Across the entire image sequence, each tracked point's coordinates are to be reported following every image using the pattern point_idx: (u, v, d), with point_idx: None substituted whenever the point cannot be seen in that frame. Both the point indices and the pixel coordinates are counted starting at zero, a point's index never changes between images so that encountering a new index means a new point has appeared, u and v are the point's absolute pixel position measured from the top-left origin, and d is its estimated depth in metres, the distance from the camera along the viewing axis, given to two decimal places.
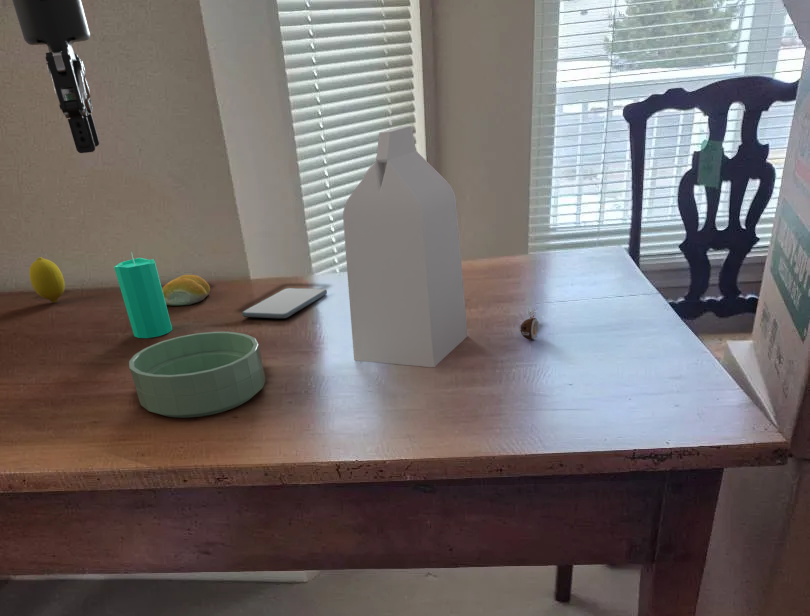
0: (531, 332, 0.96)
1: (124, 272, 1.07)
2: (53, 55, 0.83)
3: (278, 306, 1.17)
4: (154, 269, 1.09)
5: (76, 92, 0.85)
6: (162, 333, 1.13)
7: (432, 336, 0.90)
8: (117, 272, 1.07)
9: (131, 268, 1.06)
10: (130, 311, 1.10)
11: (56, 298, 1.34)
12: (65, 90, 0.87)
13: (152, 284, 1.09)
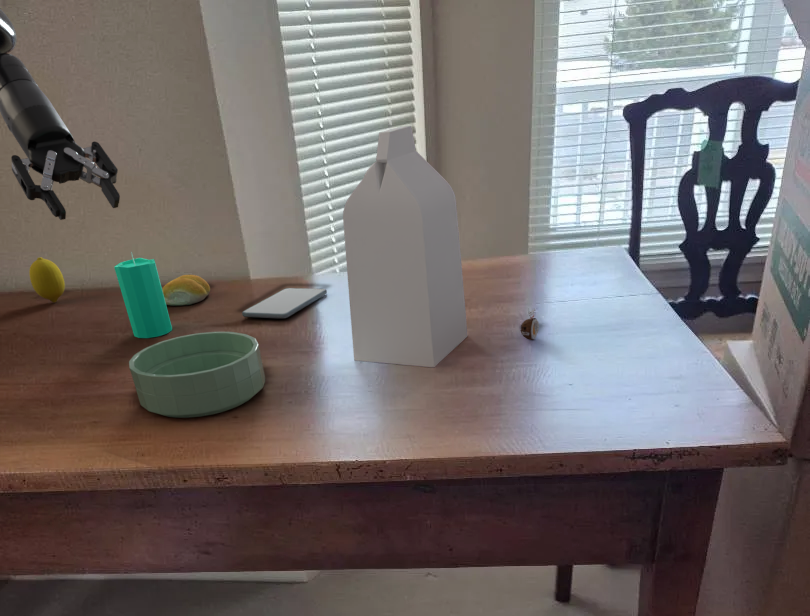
0: (531, 332, 0.96)
1: (124, 272, 1.07)
2: None
3: (278, 306, 1.17)
4: (154, 269, 1.09)
5: None
6: (162, 333, 1.13)
7: (432, 336, 0.90)
8: (117, 272, 1.07)
9: (131, 268, 1.06)
10: (130, 311, 1.10)
11: (56, 298, 1.34)
12: None
13: (152, 284, 1.09)
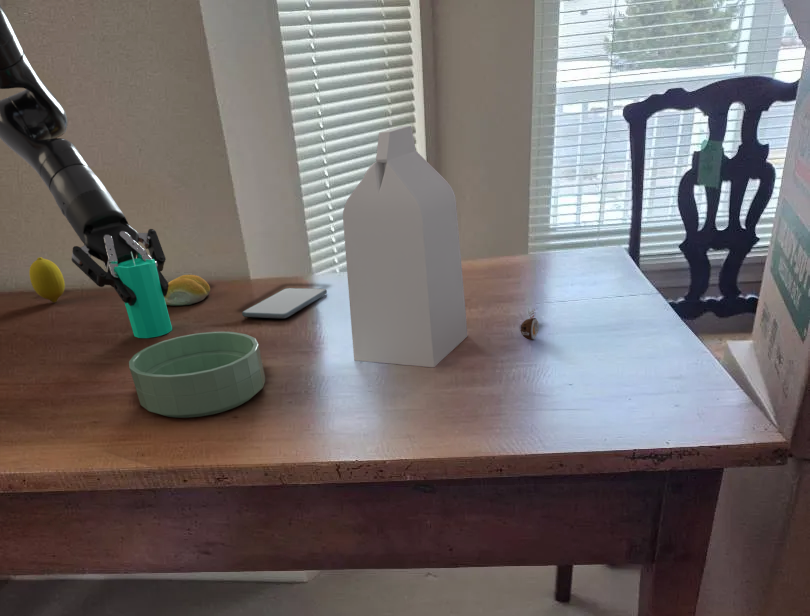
0: (531, 332, 0.96)
1: (124, 272, 1.07)
2: None
3: (278, 306, 1.17)
4: (154, 269, 1.09)
5: None
6: (162, 333, 1.13)
7: (432, 336, 0.90)
8: (117, 272, 1.07)
9: (131, 268, 1.06)
10: (130, 311, 1.10)
11: (56, 298, 1.34)
12: None
13: (152, 284, 1.09)
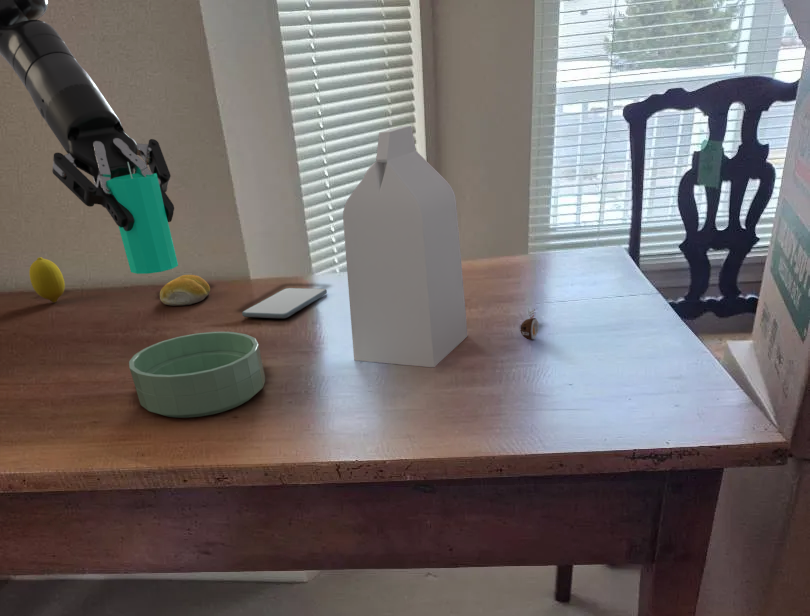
0: (531, 332, 0.96)
1: (119, 186, 0.85)
2: None
3: (278, 306, 1.17)
4: (157, 185, 0.87)
5: None
6: (166, 268, 0.91)
7: (432, 336, 0.90)
8: (110, 187, 0.85)
9: (128, 181, 0.84)
10: (126, 239, 0.88)
11: (56, 298, 1.34)
12: None
13: (154, 203, 0.87)
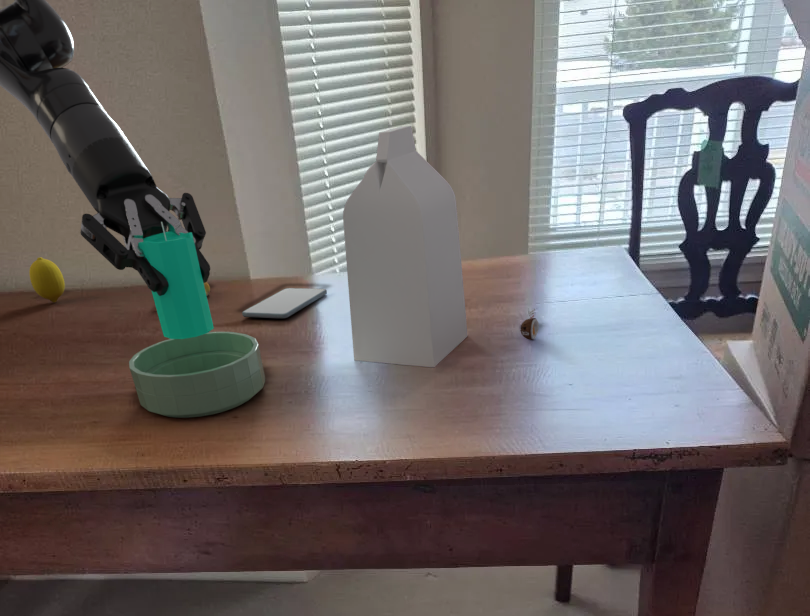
0: (531, 332, 0.96)
1: (153, 249, 0.78)
2: None
3: (278, 306, 1.17)
4: (193, 246, 0.80)
5: None
6: (201, 332, 0.84)
7: (432, 336, 0.90)
8: None
9: (162, 244, 0.78)
10: (159, 303, 0.82)
11: (56, 298, 1.34)
12: None
13: (190, 266, 0.80)
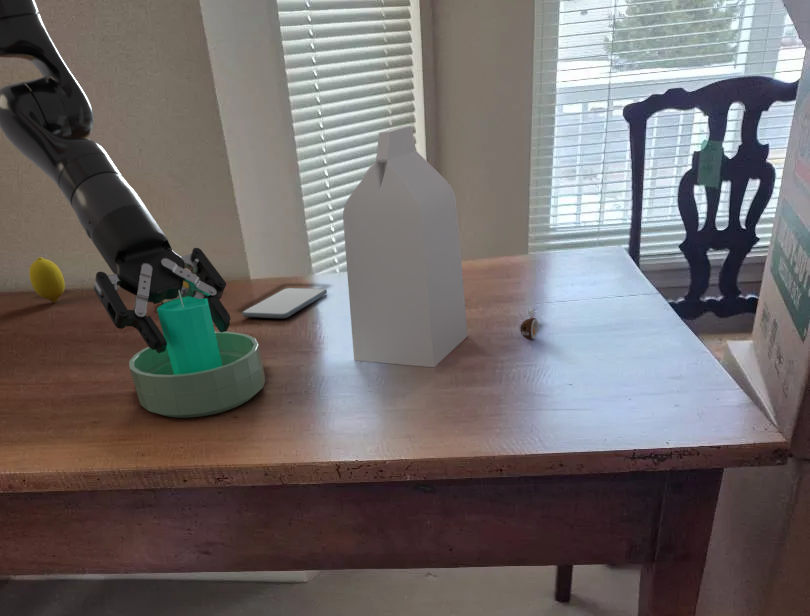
0: (531, 332, 0.96)
1: (171, 317, 0.82)
2: None
3: (278, 306, 1.17)
4: (208, 312, 0.85)
5: None
6: None
7: (432, 336, 0.90)
8: (161, 316, 0.83)
9: (179, 312, 0.82)
10: (176, 365, 0.86)
11: (56, 298, 1.34)
12: None
13: (205, 331, 0.84)
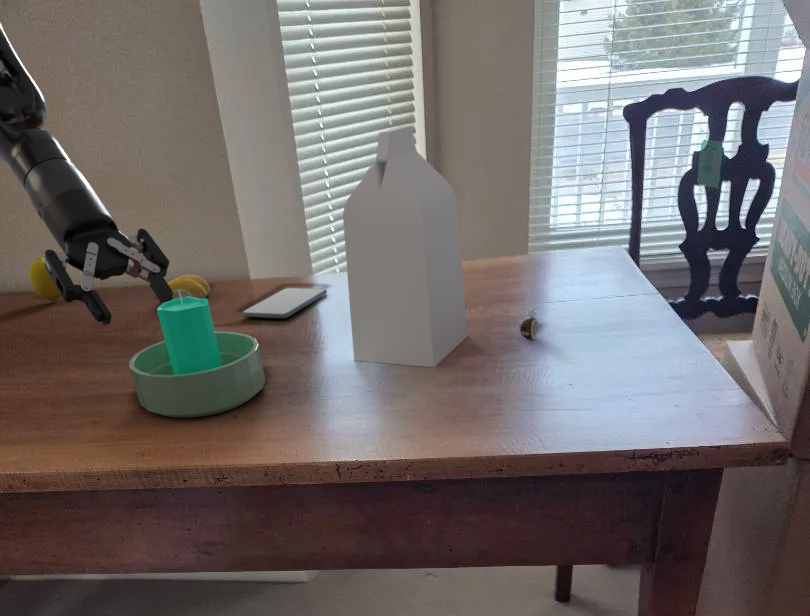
0: (531, 332, 0.96)
1: (171, 317, 0.82)
2: None
3: (278, 306, 1.17)
4: (208, 312, 0.85)
5: None
6: None
7: (432, 336, 0.90)
8: (161, 316, 0.83)
9: (179, 312, 0.82)
10: (176, 365, 0.86)
11: (56, 298, 1.34)
12: None
13: (205, 331, 0.84)
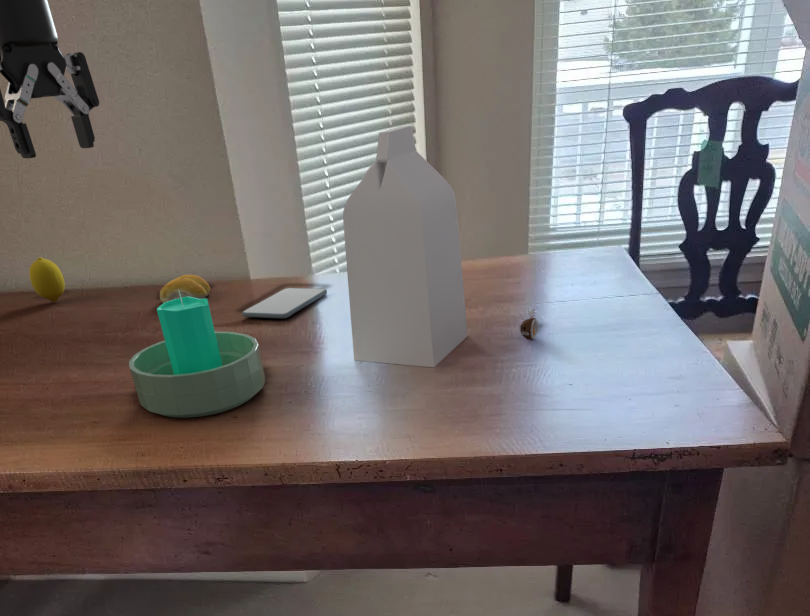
0: (531, 332, 0.96)
1: (171, 317, 0.82)
2: None
3: (278, 306, 1.17)
4: (208, 312, 0.85)
5: None
6: None
7: (432, 336, 0.90)
8: (161, 316, 0.83)
9: (179, 312, 0.82)
10: (176, 365, 0.86)
11: (56, 298, 1.34)
12: (10, 95, 0.88)
13: (205, 331, 0.84)
